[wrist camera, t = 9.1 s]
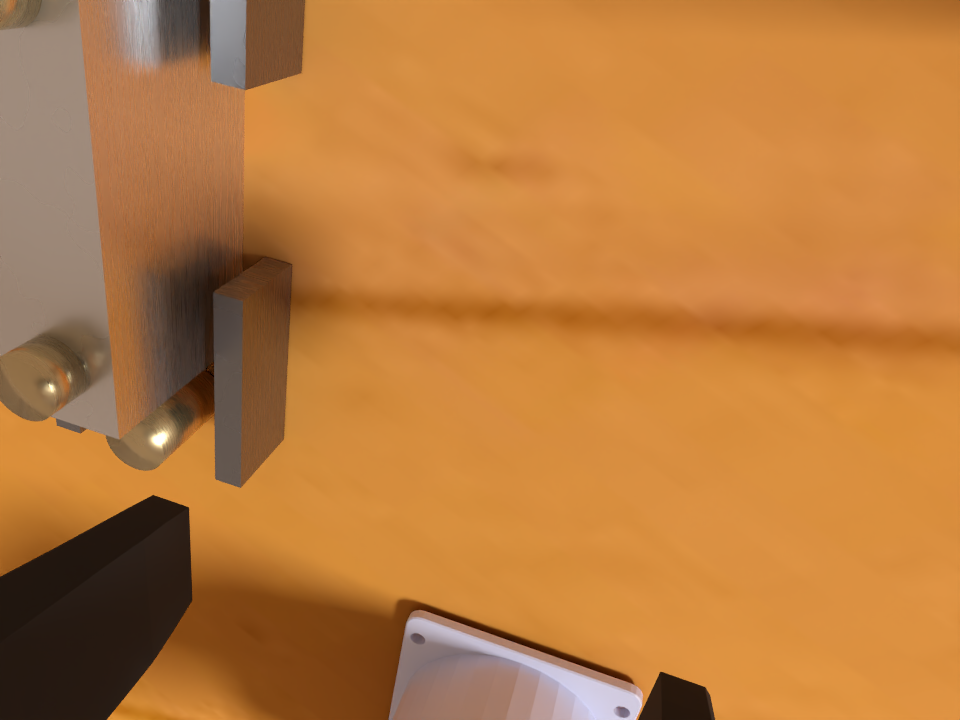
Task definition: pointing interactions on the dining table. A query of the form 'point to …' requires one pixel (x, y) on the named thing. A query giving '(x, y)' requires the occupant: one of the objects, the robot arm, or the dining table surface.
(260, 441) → the end link
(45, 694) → the robot arm
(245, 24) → the end link
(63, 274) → the block with brass knobs
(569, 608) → the dining table surface
